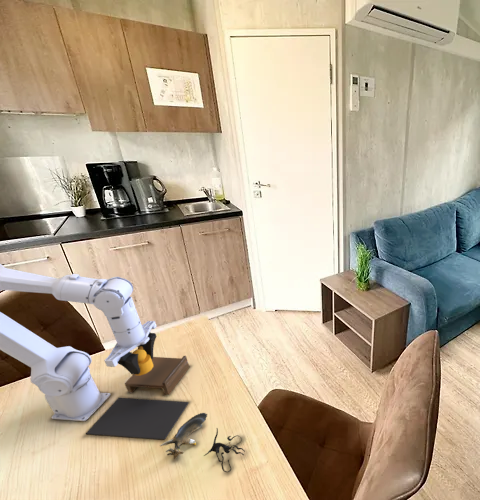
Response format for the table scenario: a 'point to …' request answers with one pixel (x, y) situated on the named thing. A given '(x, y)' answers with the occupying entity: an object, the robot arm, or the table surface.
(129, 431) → the mat
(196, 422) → the eagle figurine
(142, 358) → the orange tiered figure
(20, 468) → the table surface
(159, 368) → the shelf
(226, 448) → the creature
